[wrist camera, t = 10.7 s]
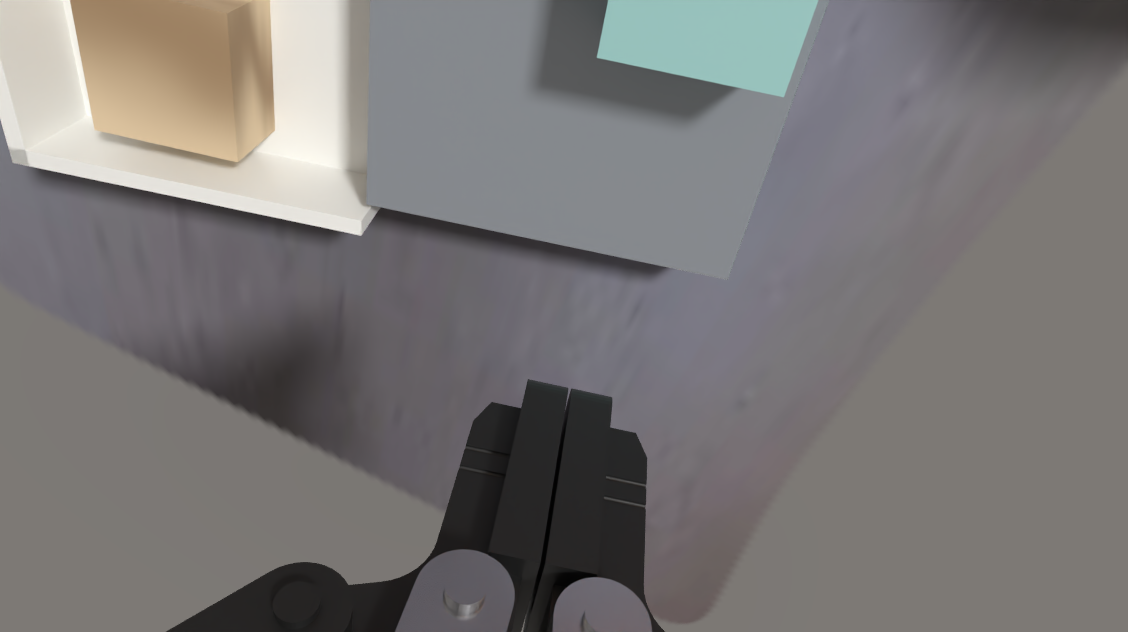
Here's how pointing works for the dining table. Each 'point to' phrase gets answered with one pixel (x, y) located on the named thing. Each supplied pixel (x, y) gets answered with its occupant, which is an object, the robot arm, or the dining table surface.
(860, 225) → the dining table surface
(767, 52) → the seafoam green cuboid
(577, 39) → the board
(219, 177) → the tray
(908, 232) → the dining table surface
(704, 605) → the dining table surface
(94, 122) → the thick tan wooden block
